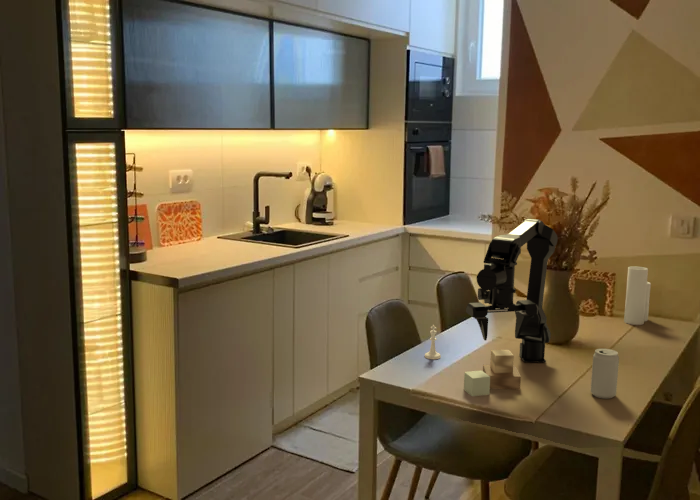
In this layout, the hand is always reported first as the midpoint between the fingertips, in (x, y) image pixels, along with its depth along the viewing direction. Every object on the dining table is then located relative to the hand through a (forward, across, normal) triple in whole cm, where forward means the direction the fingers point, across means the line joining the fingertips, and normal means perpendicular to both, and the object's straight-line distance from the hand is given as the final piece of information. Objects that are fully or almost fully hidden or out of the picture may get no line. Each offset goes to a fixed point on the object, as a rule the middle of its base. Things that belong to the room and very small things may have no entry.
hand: (500, 339), depth 197 cm
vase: (+13, -74, -49) cm, 89 cm away
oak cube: (+8, 0, +2) cm, 8 cm away
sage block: (+12, +10, +7) cm, 17 cm away
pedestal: (+12, 0, +2) cm, 12 cm away
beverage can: (+12, -22, +16) cm, 30 cm away
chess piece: (+12, +12, -23) cm, 28 cm away
